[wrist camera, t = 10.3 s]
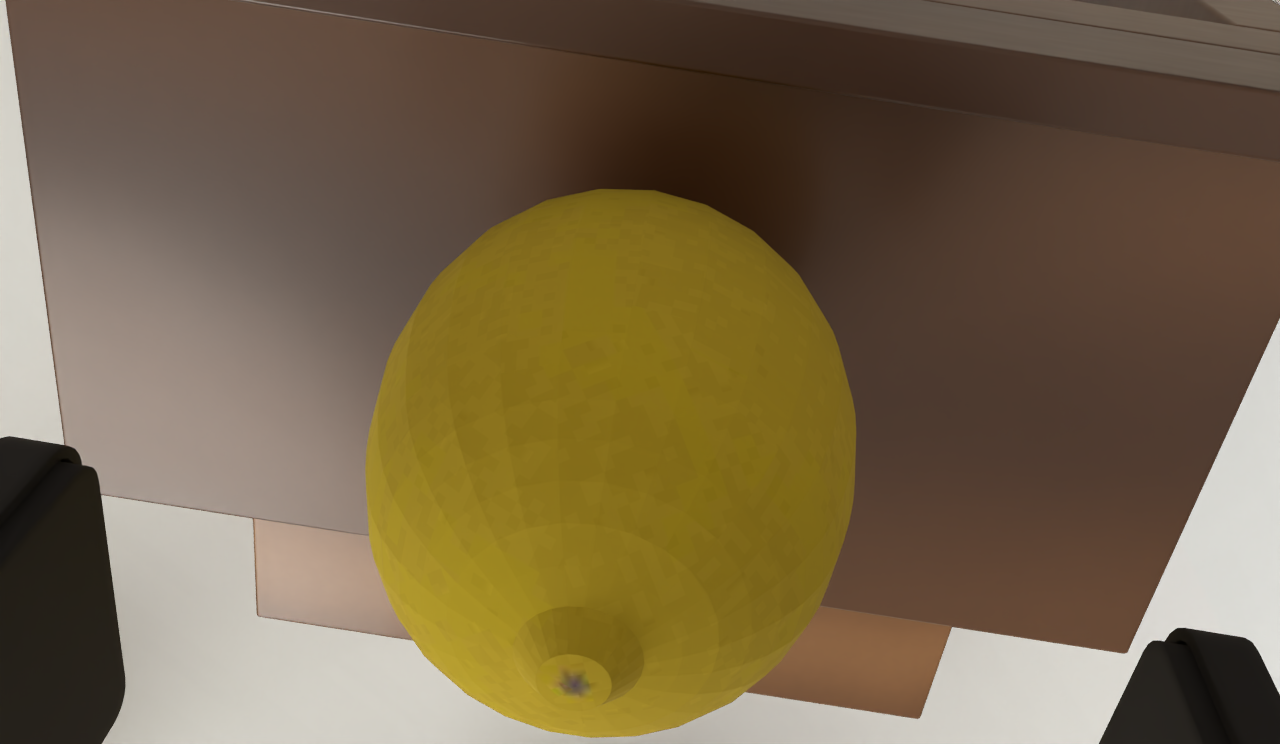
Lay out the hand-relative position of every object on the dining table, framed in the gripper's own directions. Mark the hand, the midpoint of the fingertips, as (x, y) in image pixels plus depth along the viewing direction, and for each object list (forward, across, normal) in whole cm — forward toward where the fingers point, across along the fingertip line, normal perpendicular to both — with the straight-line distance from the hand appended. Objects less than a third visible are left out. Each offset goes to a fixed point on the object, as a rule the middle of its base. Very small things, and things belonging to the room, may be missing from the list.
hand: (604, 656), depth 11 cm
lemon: (+8, 0, 0) cm, 8 cm away
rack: (+18, 0, +6) cm, 19 cm away
